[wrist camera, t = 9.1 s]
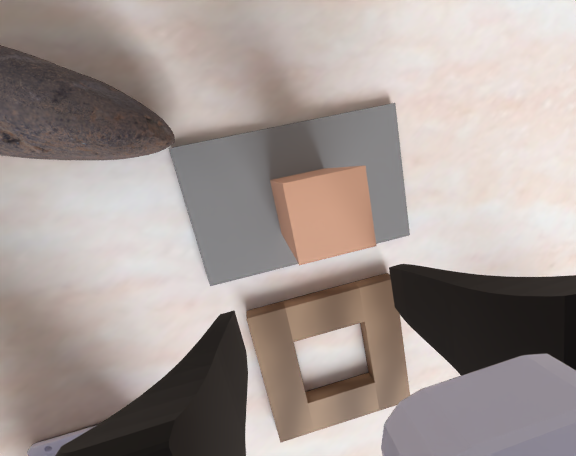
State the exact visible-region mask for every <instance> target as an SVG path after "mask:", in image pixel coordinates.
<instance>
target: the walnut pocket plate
mask: <svg viewBox="0 0 576 456" xmlns="http://www.w3.org/2000/svg"><path fill="white" fill-rule="evenodd" d="M247 322H248V326H249V329H250V333H251V337H252V340H253V344H254V347H255V351H256V355H257V358H258V362H259V366H260V369H261V373H262V377H263V380H264V384H265V387H266V391H267V395H268V398H269V402H270V406H271V409H272V413H273V416H274V420H275V424H276V427H277V431H278V435H279V438H280V442H283V441H287V440H290V439H293V438H296V437H299V436H302V435H305V434H308V433H311V432H314V431H318V430H321V429H324V428H327V427H330V426H333V425H336V424H339V423H342V422H345V421H348V420H352V419H355V418H358V417H361V416H364V415H367V414H370V413H373V412H376V411H379V410H382V409H386V408H389V407H392V406H395V405H398V403H399V402H400V401H402V400H403V399H405V398H407V397H408V396H410V392H409V384H408V376H407V368H406V361H405V353H404V345H403V337H402V330H401V322H400V314H399V312H398V311H397V310H396V308H395V306H394V299H393V292H392V285H391V278H390V275H389V274H388V273H386V274H382V275H378V276H374V277H371V278H367V279H363V280H360V281H356V282H352V283H348V284H345V285H341V286H337V287H334V288H330V289H326V290H322V291H319V292H315V293H311V294H307V295H304V296H300V297H296V298H293V299H289V300H285V301H281V302H278V303H274V304H270V305H267V306H263V307H259V308H255V309H252V310H248V311H247ZM358 323H360V324H361V330H362V336H363V342H364V348H365V354H366V360H367V366H368V372H369V373H366V374H362V375H359V376H356V377H352V378H349V379H346V380H343V381H339V382H336V383H333V384H330V385H326V386H323V387H320V388H317V389H313V390H310V391H307V392H305V390H304V385H303V381H302V377H301V373H300V368H299V364H298V360H297V356H296V351H295V347H294V343H293V342H295V341H299V340H302V339H306V338H309V337H313V336H316V335H320V334H323V333H327V332H330V331H334V330H337V329H341V328H344V327H348V326H351V325H355V324H358Z"/></svg>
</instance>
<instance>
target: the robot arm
mask: <svg viewBox="0 0 576 456" xmlns="http://www.w3.org/2000/svg"><path fill="white" fill-rule="evenodd" d="M389 271H390V278H391V285H392V292H393V299H394V306H395V308H396V310H397V311H398V312H399V314H400V315H401V316H402V317H403V319H404V320H405V321H406V322H407V323H408V324H409V325H410V326H411V327H412V328H413V329H414V330H415V331H416V332H417V333H418V334H419V335H420V336H421V337H422V338H423V339H424V340H425V341H426V342H427V343H429V344H430V345H431V346H432V347H433V348H434V349H435V350H436V351H437V352H438V353H439V354H440V355H441V356H443V357H444V358H445V359H446V360H447V361H448V362H449V363H450V364H451V365H452V366H453V367H454V368H455V369H456V370H457V371H458V372H459V374H460V375H461V376H459V377H456V378H453V379H450V380H447V381H444V382H441V383H438V384H435V385H432V386H429V387H426V388H423V389H420V390H419V391H417V392H415V393H414V394H412V395H410V396H408V397H407V398H405V399H403V400H402V401H400V402H399V403H398V405H397V406H396V408H395V409H394V410H393V412H392V413H391V415H390V416H389V417H388V419H387V420H386V422H385V424H384V430H383V438H382V446H381V449H382V455H383V456H576V275H574V276H557V277H502V276H487V275H476V274H468V273H460V272H453V271H447V270H441V269H435V268H429V267H423V266H416V265H409V264H400V265H397V266H393V267H389ZM247 382H248V368H247V355H246V349H245V346H244V342H243V339H242V335H241V332H240V328H239V325H238V322H237V318H236V315H235V311H231V312H227V313H224V314H220V315H219V316H218V318H217V319H216V320H215V321H214V323H213V324H212V325H211V326H210V328H209V329H208V330H207V332H206V333H205V334H204V335H203V337H202V338H201V339H200V340H199V341H198V343H197V344H196V345H195V346H194V347H193V348H192V349H191V350H190V352H189V353H188V354H187V355H186V356H185V357H184V358H183V359H182V360H181V361H180V362H179V363H178V364H177V365H176V366H175V367H174V368H173V369H172V370H171V371H170V372H169V373H168V374H167V375H165V376H164V377H163V378H162V379H161V380H160V381H158V382H157V383H156V384H155V385H153V386H152V387H151V388H150V389H148V390H147V391H146V392H145V393H143V394H142V395H141V396H140V397H138V398H137V399H136V400H134V401H133V402H131V403H130V404H129V405H127V406H126V407H124V408H123V409H121V410H120V411H118V412H117V413H116V414H114V415H113V416H111V417H110V418H108V419H106V420H105V421H103V422H102V423H100V424H98V425H96V426H93V427H89V428H86V429H82V430H79V431H76V432H72V433H69V434H65V435H62V436H59V437H55V438H52V439H49V440H45V441H42V442H38V443H35V444H33V445H32V446H31V447H30V448H29V449H28V451H27V454H28V456H246V448H245V422H246V403H247Z"/></svg>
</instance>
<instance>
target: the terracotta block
mask: <svg viewBox="0 0 576 456" xmlns="http://www.w3.org/2000/svg"><path fill="white" fill-rule="evenodd" d="M270 183H271V188H272V192H273V197H274V202H275V206H276V211H277V215H278V220H279V224H280V229H281V234H282V236H283V237H284V239H285V241H286V243H287V244H288V246H289V248H290V250H291V251H292V253H293V255H294V257H295V258H296V260H297V262H298V264H299V265H302V264H306V263H310V262H314V261H318V260H322V259H326V258H330V257H334V256H338V255H342V254H346V253H350V252H354V251H358V250H362V249H366V248H370V247H374V246H376V239H375V232H374V224H373V217H372V210H371V202H370V195H369V188H368V180H367V173H366V166H352V167H338V168H324V169H319V170H315V171H310V172H305V173H301V174H296V175H291V176H287V177H282V178H278V179H273V180H270Z"/></svg>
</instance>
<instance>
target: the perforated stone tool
mask: <svg viewBox="0 0 576 456" xmlns="http://www.w3.org/2000/svg"><path fill="white" fill-rule="evenodd" d="M174 141H175V139H174V134H173V132H172V130H171V129H170V127H169V126H168V125H167V124H166V123H165V121H163V120H162V119H161V118H160V117H159V116H158V115H156V114H155V113H154V112H152V111H151V110H150V109H148V108H147V107H145V106H144V105H142V104H141V103H139V102H138V101H136V100H134V99H133V98H131V97H129V96H127V95H126V94H124V93H122V92H121V91H119V90H117V89H115V88H113V87H111V86H109V85H107V84H105V83H103V82H101V81H98V80H96V79H93V78H91V77H88V76H85V75H82V74H79V73H77V72H74V71H72V70H69V69H66V68H63V67H60V66H58V65H56V64H54V63H51V62H48V61H46V60H43V59H40V58H37V57H35V56H32V55H29V54H26V53H23V52H20V51H17V50H14V49H10V48H7V47H4V46H1V45H0V155H5V156H13V157H22V158H34V159H57V160H115V159H126V158H133V157H139V156H144V155H149V154H153V153H156V152H159V151H161V150H164V149H165V148H167V147H169V146H170V145H172V144H173V143H174Z"/></svg>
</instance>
